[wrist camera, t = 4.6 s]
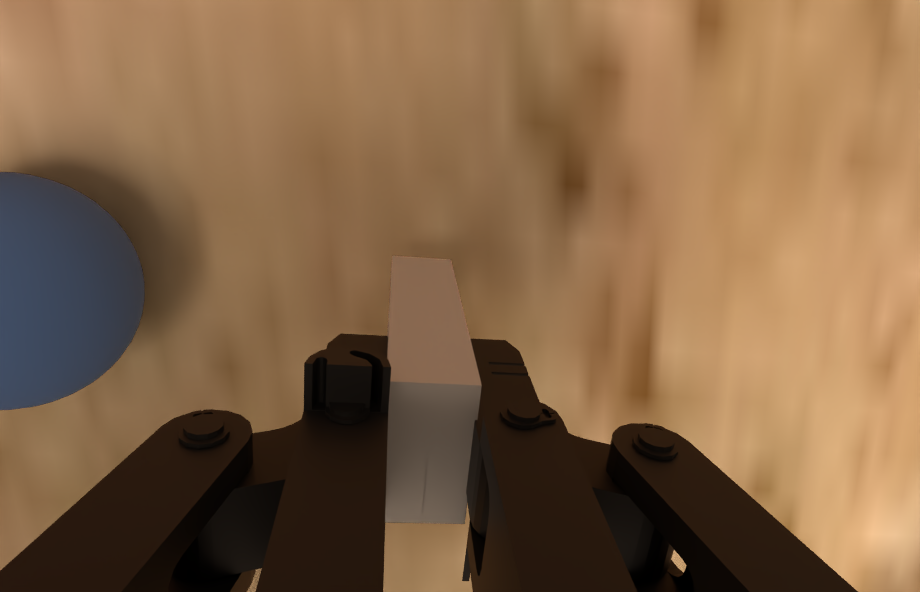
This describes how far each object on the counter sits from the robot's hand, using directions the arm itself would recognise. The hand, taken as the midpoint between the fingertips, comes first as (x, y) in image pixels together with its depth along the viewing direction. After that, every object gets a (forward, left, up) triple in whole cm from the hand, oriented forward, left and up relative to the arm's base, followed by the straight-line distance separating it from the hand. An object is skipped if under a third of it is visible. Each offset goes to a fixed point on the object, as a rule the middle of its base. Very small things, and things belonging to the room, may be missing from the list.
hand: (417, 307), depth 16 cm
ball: (-10, 0, 0) cm, 10 cm away
